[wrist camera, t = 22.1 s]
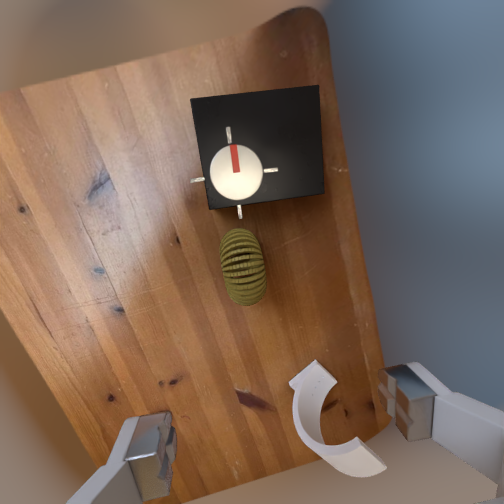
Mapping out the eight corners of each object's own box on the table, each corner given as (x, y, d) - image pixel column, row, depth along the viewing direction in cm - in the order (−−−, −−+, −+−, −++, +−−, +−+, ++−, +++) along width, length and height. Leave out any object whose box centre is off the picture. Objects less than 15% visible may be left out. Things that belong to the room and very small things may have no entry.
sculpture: (216, 226, 29) (214, 241, 21) (251, 220, 29) (262, 232, 21) (229, 290, 31) (231, 324, 23) (261, 283, 31) (274, 316, 24)
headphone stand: (334, 377, 36) (387, 468, 25) (303, 403, 37) (340, 504, 25) (315, 359, 35) (361, 445, 23) (282, 386, 36) (312, 483, 24)
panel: (200, 220, 28) (198, 225, 25) (180, 109, 25) (174, 99, 22) (315, 204, 29) (326, 206, 26) (308, 95, 26) (319, 83, 23)
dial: (259, 195, 25) (266, 197, 21) (215, 200, 25) (214, 203, 21) (254, 148, 24) (260, 140, 20) (208, 153, 24) (205, 147, 20)
